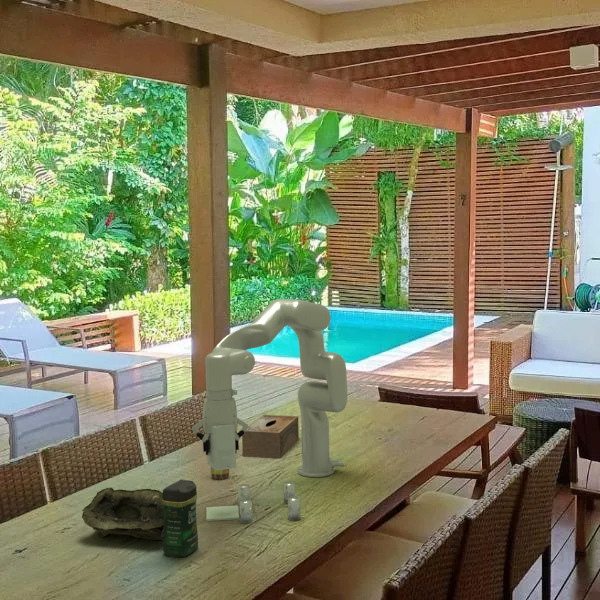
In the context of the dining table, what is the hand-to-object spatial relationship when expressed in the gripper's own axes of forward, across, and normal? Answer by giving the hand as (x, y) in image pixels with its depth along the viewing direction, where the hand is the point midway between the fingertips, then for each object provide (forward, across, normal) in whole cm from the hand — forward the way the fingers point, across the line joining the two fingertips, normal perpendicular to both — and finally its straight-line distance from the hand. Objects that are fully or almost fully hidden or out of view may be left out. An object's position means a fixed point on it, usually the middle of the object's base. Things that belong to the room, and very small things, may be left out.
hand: (221, 452), depth 243 cm
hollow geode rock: (+19, +25, +15) cm, 35 cm away
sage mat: (+19, 0, 0) cm, 19 cm away
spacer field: (+19, -14, 0) cm, 23 cm away
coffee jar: (+19, +11, +26) cm, 34 cm away
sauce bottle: (+19, 0, -36) cm, 41 cm away
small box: (+4, 0, 0) cm, 4 cm away
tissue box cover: (+19, -20, -69) cm, 74 cm away
